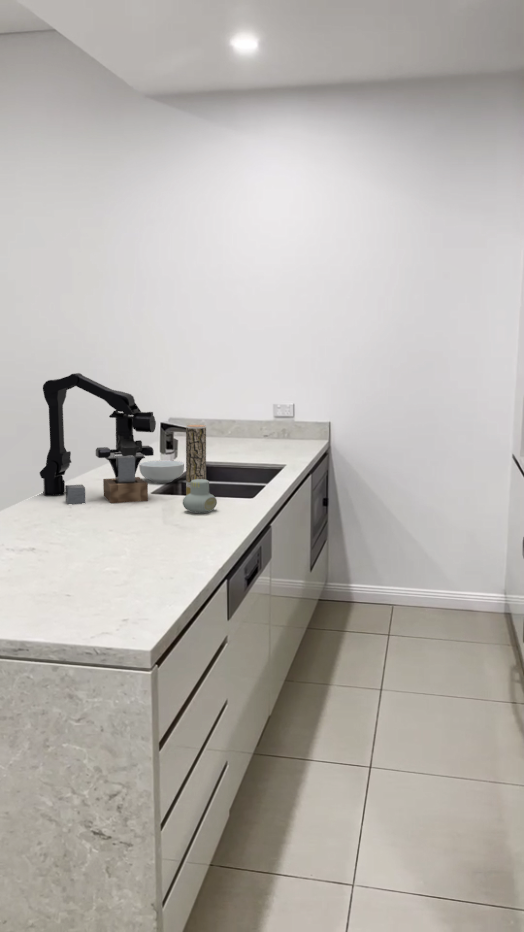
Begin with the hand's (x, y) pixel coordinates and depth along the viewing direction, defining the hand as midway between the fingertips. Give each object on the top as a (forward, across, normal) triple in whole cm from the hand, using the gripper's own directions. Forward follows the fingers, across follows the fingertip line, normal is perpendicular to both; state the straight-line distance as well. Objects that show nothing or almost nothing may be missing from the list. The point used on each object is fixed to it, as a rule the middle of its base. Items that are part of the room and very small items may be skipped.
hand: (125, 476), depth 274 cm
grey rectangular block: (+3, 0, 0) cm, 3 cm away
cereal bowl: (+8, +20, +27) cm, 35 cm away
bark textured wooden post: (+8, +23, -7) cm, 25 cm away
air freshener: (+8, +18, -27) cm, 33 cm away
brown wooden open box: (+8, 0, 0) cm, 8 cm away
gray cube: (+8, -17, -1) cm, 19 cm away
